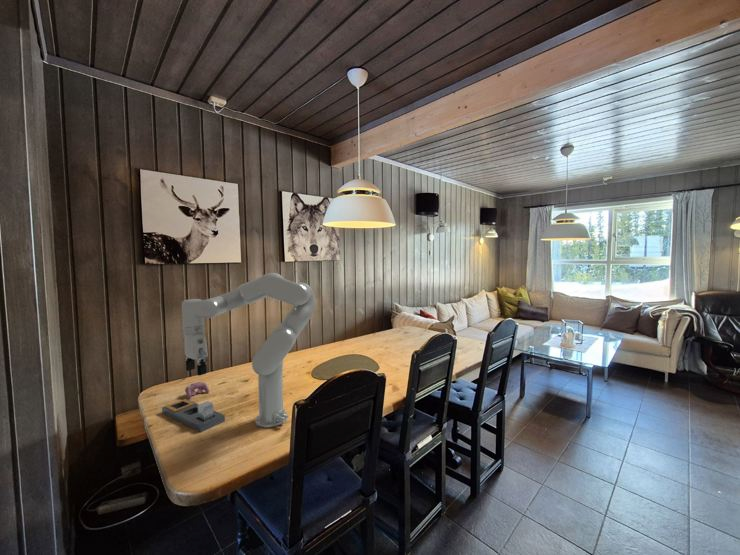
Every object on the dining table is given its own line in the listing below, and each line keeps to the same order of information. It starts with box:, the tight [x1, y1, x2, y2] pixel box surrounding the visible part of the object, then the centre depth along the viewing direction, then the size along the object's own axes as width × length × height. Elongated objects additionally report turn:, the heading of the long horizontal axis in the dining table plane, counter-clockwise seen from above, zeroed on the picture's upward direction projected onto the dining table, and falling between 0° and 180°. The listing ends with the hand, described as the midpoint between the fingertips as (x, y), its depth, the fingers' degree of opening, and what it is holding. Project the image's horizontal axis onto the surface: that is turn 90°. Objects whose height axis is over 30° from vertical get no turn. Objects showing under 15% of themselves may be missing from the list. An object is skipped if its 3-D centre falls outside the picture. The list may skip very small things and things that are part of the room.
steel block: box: [198, 400, 214, 422], centre depth 126 cm, size 4×4×8 cm
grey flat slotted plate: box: [161, 398, 226, 433], centre depth 131 cm, size 30×10×3 cm, turn 58°
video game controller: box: [184, 381, 210, 400], centre depth 153 cm, size 10×5×7 cm, turn 141°
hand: (196, 372), depth 124 cm, fingers open, 9 cm apart
